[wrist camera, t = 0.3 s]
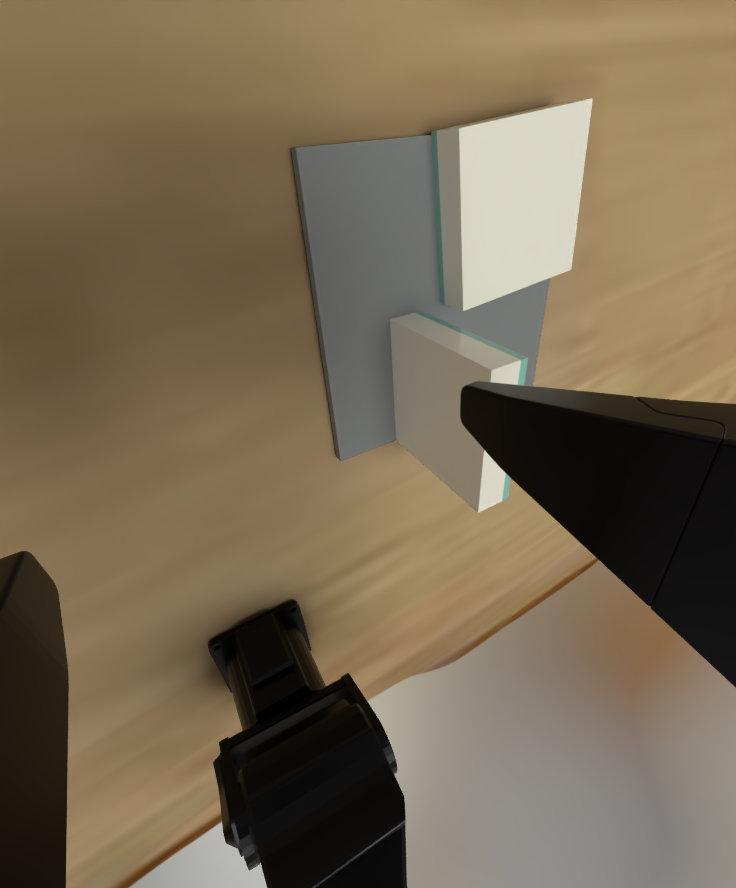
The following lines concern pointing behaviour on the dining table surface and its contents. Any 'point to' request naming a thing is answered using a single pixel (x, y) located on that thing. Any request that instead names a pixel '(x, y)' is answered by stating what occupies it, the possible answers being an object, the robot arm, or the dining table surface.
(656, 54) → the dining table surface
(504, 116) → the flat tile
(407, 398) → the tile
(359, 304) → the mat
